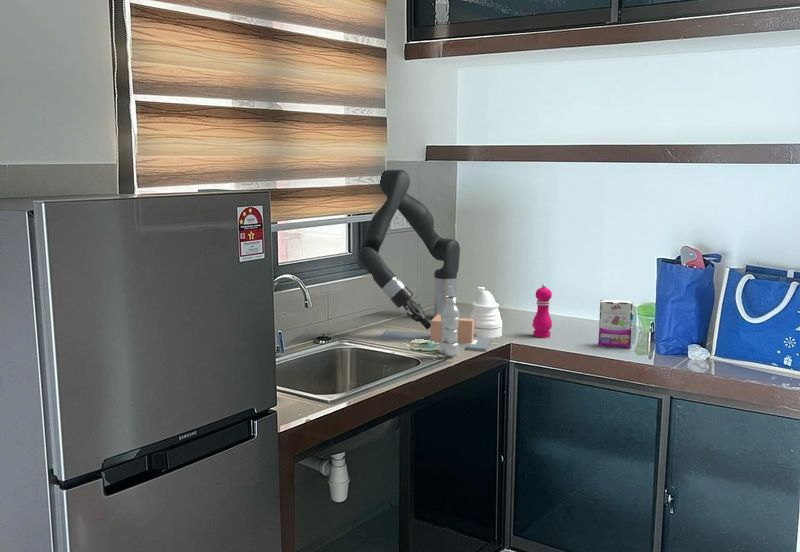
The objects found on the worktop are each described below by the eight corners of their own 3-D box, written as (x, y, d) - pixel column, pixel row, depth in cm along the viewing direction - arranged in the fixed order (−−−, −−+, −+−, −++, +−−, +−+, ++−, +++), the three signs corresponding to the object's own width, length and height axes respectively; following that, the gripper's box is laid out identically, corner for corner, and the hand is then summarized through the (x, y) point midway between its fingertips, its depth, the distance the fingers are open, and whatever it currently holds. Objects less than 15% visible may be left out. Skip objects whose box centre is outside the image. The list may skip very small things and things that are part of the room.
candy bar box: (629, 345, 276) (632, 300, 274) (630, 348, 271) (633, 303, 269) (597, 343, 279) (600, 298, 276) (597, 346, 274) (600, 301, 271)
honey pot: (473, 338, 282) (475, 290, 280) (463, 331, 295) (464, 285, 292) (506, 337, 285) (508, 290, 282) (495, 330, 297) (497, 284, 295)
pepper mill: (555, 336, 289) (557, 283, 286) (544, 339, 284) (547, 285, 281) (538, 333, 294) (541, 281, 291) (528, 335, 289) (530, 283, 286)
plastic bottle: (446, 359, 251) (447, 299, 248) (435, 354, 257) (437, 296, 254) (462, 357, 254) (464, 298, 251) (452, 352, 260) (453, 294, 257)
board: (386, 332, 289) (386, 330, 289) (492, 340, 280) (492, 337, 280) (374, 342, 273) (374, 340, 273) (486, 351, 263) (486, 348, 263)
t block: (437, 335, 281) (437, 314, 280) (475, 338, 278) (475, 316, 277) (430, 343, 270) (430, 320, 269) (469, 345, 266) (470, 323, 265)
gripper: (400, 287, 269) (433, 324, 268) (408, 282, 282) (440, 317, 281) (385, 301, 271) (418, 338, 270) (394, 295, 284) (426, 330, 283)
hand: (429, 327), depth 276 cm, fingers closed
